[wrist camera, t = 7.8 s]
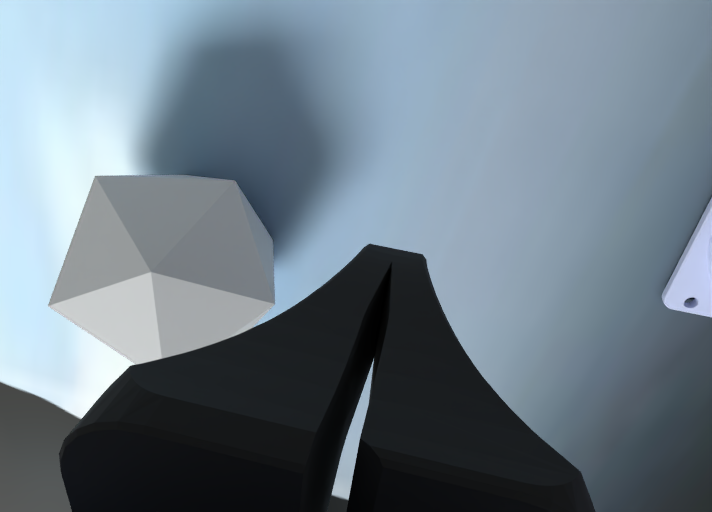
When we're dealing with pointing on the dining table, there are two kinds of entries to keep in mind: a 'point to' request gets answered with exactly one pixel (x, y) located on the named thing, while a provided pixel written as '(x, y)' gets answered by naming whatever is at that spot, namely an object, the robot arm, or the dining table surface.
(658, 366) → the dining table surface
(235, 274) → the die
